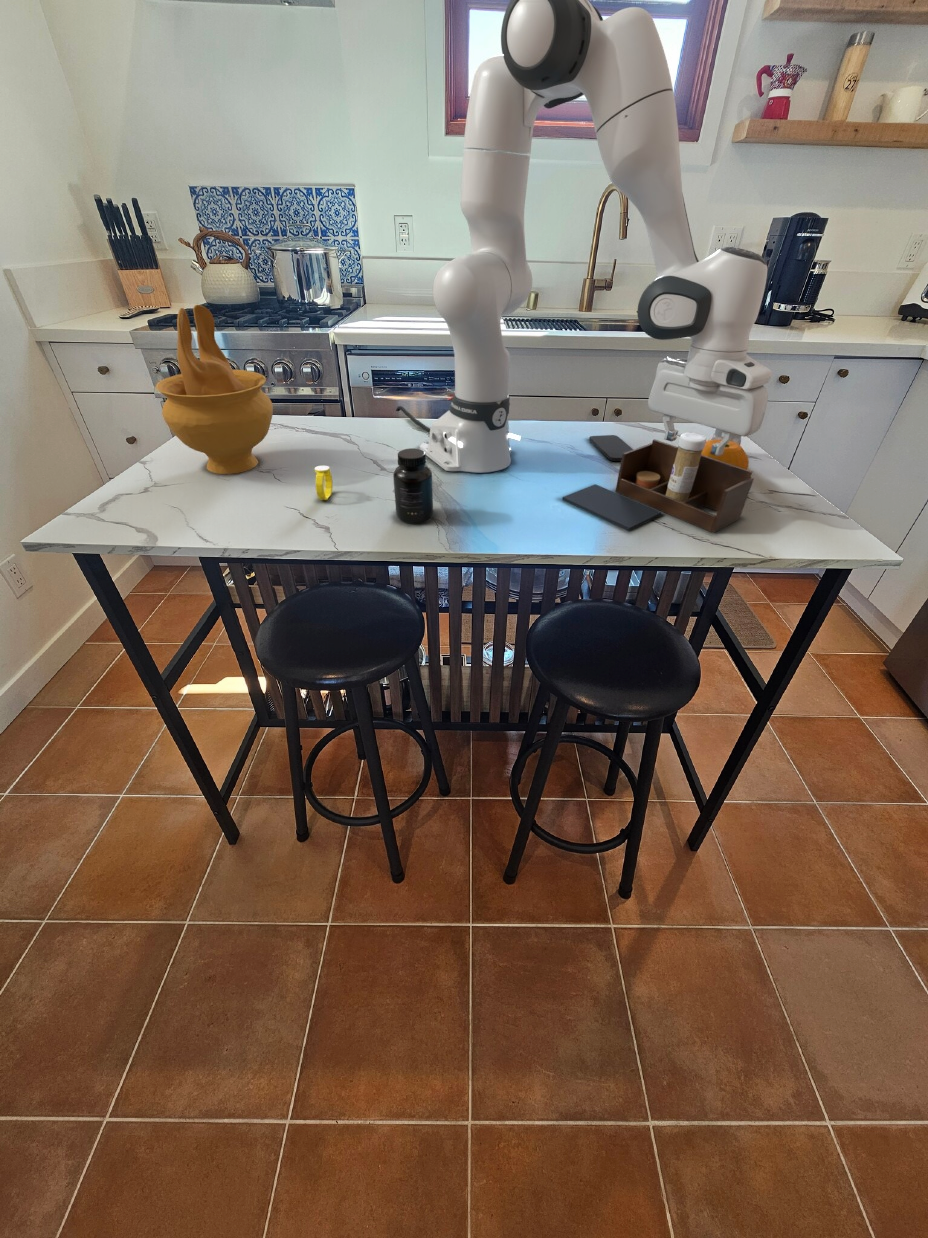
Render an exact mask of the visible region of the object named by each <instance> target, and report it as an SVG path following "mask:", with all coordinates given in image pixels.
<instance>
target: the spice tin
mask: <svg viewBox="0 0 928 1238" xmlns="http://www.w3.org/2000/svg"><path fill="white" fill-rule="evenodd" d="M659 480H660V475H659V474H657V473H654V472H650V471H640V472H638V473H637V474H636V481H635V483H636V484H638V485H641V486H643V487H646V488H648V489H651V488H653V487H656V486H658V483H659Z"/></svg>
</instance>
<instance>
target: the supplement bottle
mask: <svg viewBox="0 0 928 1238" xmlns="http://www.w3.org/2000/svg"><path fill="white" fill-rule="evenodd" d="M426 457H427V455H425V452H424V451H423V450H420V449H419V448H416V447H415V448H414V447H413V448H404V449H401V450H399V451H398V452H397V467H396V468H395V469H394V470H393V475H392V478H393V491H394V503H395V504H394V505H395V514H396V517H397V519H398V521H401V522H403V523H405V524H408V525H409V524H410V525H418V524H423V523H426V522H428V521H430V520H431V519H432V518H433V515H434V494H433V492H434V491H433V471H432V469H430V467H429V466H428V465H427V459H426Z"/></svg>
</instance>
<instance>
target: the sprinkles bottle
mask: <svg viewBox="0 0 928 1238" xmlns="http://www.w3.org/2000/svg"><path fill="white" fill-rule="evenodd" d="M678 439H679V440H678V443H677V445H678V446H677V447H678V451H677V455H676V459H675V462H674V465H673V469H672V472H671V476H670V480H669V483H668V488H667V492H666V496H668V497H671V498H673V499H676V500H678V501H681V502H683V501H685V500H687V499H688V498H689V494H690V491H691V489H692V486H693V482H694V479H695V476H696V472H697V469H698V466H699V461H700V457H701V454H702V451H703V449H704V447H705V444H706V441H707V437H706V435H703V434H701V433H696V432H683V433H682V434H681V435H680V436H679V438H678Z"/></svg>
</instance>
